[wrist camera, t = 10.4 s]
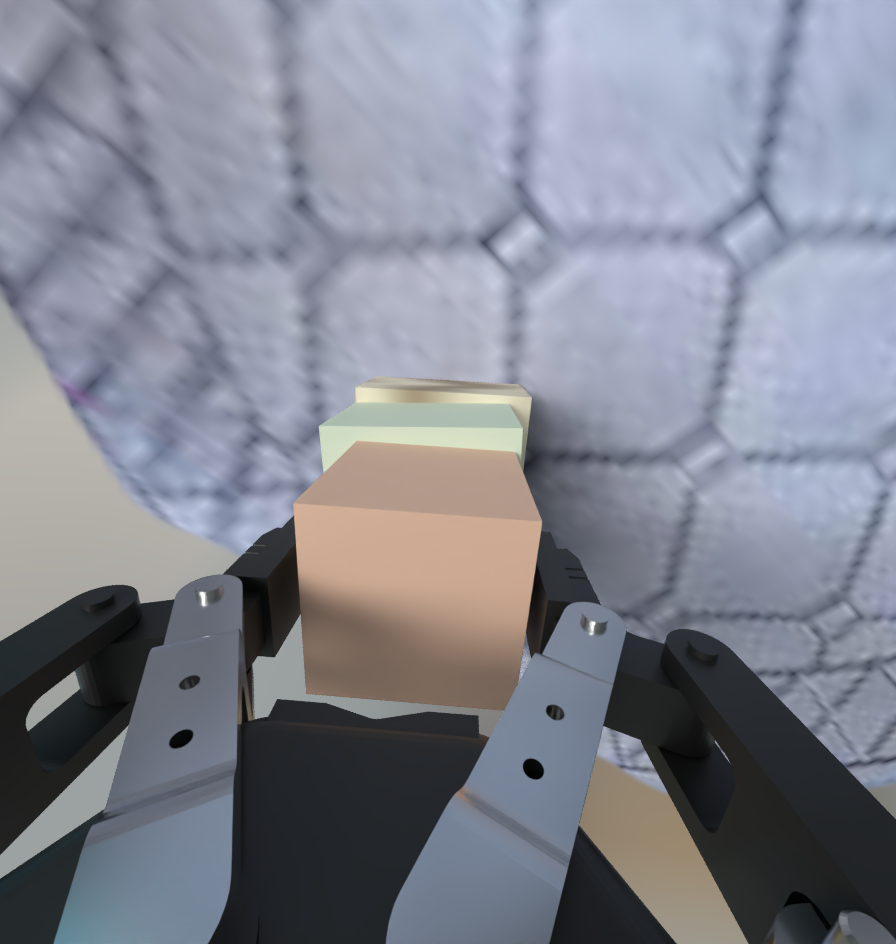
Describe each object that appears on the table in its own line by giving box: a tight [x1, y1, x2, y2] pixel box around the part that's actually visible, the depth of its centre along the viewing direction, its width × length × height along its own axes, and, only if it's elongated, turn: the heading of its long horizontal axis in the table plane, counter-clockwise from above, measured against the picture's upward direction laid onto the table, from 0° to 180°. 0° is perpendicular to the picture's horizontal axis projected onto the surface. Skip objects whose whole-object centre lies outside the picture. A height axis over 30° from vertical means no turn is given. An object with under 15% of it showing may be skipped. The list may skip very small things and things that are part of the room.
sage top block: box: [319, 402, 523, 472], centre depth 18 cm, size 7×7×5 cm
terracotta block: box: [293, 441, 542, 711], centre depth 13 cm, size 6×6×6 cm
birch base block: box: [356, 376, 532, 471], centre depth 22 cm, size 8×8×5 cm
